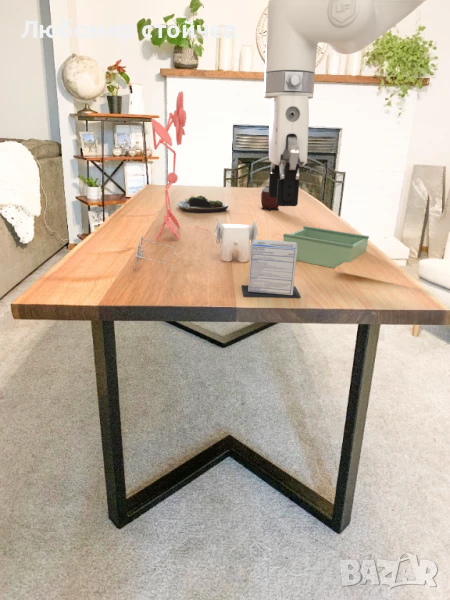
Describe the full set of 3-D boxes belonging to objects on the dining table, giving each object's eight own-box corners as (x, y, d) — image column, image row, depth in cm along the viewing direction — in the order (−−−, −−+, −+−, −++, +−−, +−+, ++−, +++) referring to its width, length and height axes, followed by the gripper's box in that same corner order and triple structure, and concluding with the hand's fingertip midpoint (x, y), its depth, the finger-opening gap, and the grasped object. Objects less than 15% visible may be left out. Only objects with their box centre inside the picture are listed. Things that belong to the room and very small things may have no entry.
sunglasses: (139, 254, 99) (142, 233, 98) (176, 260, 101) (179, 239, 99) (132, 273, 87) (135, 249, 85) (175, 280, 88) (179, 256, 86)
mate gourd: (259, 210, 159) (262, 166, 153) (261, 206, 166) (263, 165, 160) (280, 211, 158) (284, 168, 152) (281, 208, 165) (284, 166, 160)
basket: (365, 259, 102) (369, 236, 100) (348, 271, 93) (351, 245, 91) (302, 247, 111) (305, 226, 109) (281, 257, 101) (283, 234, 99)
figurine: (148, 247, 106) (144, 85, 93) (160, 224, 130) (157, 93, 117) (213, 248, 107) (216, 88, 94) (212, 226, 131) (215, 96, 118)
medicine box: (293, 288, 81) (297, 241, 78) (292, 296, 77) (297, 248, 74) (250, 284, 82) (253, 238, 79) (247, 292, 78) (250, 244, 75)
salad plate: (166, 204, 163) (165, 192, 161) (210, 202, 170) (210, 190, 169) (186, 214, 147) (186, 200, 145) (233, 211, 154) (234, 198, 153)
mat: (295, 288, 82) (295, 286, 82) (300, 298, 78) (300, 295, 77) (241, 287, 82) (241, 285, 82) (243, 296, 77) (243, 294, 77)
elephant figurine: (254, 251, 106) (257, 214, 102) (257, 266, 94) (259, 224, 91) (214, 249, 106) (216, 212, 102) (212, 264, 94) (213, 223, 91)
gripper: (327, 82, 60) (316, 210, 66) (302, 92, 76) (294, 194, 82) (272, 81, 59) (265, 209, 65) (258, 91, 75) (254, 193, 82)
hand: (282, 201), depth 74 cm, fingers open, 9 cm apart
